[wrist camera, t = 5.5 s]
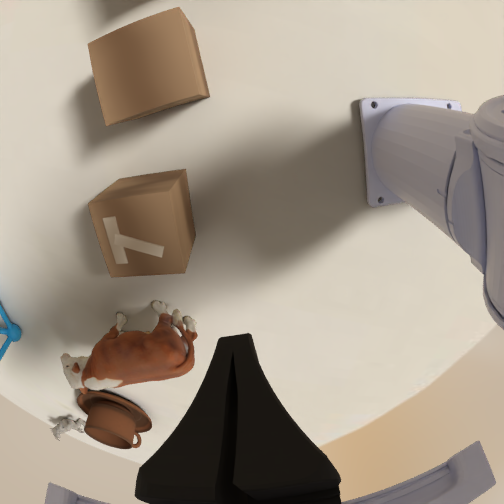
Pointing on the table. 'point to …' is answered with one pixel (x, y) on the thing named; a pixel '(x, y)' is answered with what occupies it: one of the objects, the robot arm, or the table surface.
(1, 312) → the molecular structure
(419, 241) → the table surface
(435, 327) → the table surface
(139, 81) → the plain cube
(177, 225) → the cube seven
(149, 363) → the bull figurine
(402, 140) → the robot arm
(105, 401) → the cup and saucer
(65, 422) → the soldier figure
